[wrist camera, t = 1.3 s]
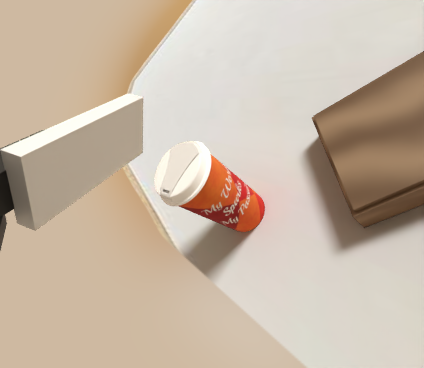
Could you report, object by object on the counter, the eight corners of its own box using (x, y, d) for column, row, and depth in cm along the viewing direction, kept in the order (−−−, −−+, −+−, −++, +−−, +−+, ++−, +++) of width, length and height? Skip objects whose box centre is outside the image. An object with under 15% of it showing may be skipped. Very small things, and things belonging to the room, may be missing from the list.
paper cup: (258, 247, 44) (183, 208, 34) (216, 231, 49) (141, 194, 40) (281, 190, 45) (214, 138, 35) (237, 181, 50) (169, 133, 41)
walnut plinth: (322, 131, 44) (309, 115, 42) (439, 66, 38) (433, 42, 35) (364, 227, 36) (350, 215, 34) (521, 165, 30) (520, 143, 27)
